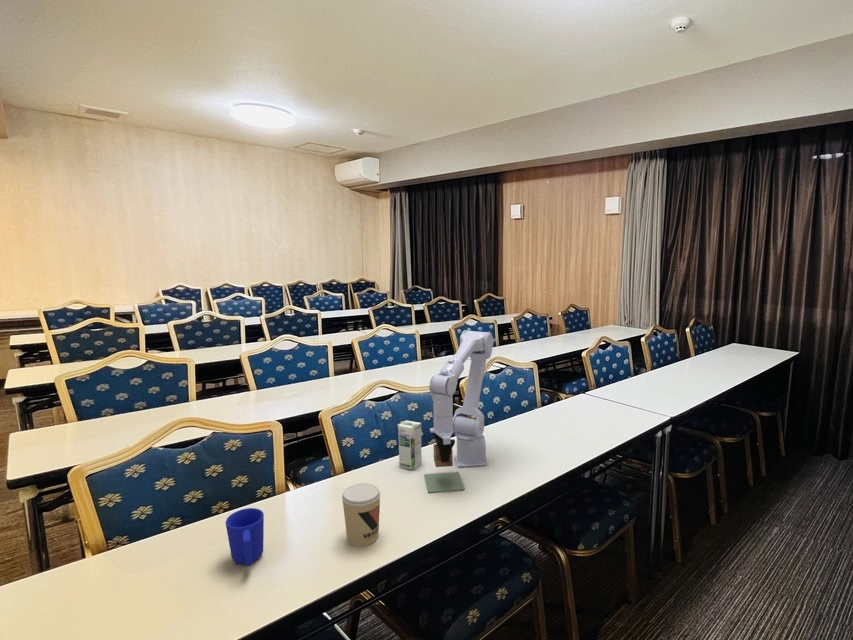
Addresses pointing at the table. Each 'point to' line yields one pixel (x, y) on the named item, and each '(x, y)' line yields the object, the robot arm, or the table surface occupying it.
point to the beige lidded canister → (361, 513)
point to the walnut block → (438, 460)
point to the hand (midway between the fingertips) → (443, 457)
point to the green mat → (444, 482)
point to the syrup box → (410, 445)
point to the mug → (246, 535)
